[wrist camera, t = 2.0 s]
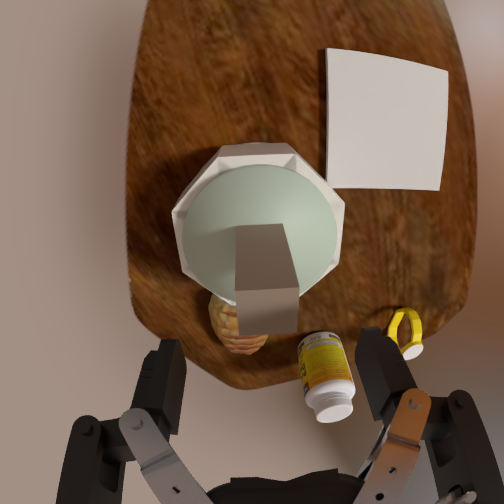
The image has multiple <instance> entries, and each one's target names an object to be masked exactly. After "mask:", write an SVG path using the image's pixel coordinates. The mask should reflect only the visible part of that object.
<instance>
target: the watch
mask: <svg viewBox="0 0 504 504" xmlns="http://www.w3.org/2000/svg"><path fill="white" fill-rule="evenodd" d="M404 313H406V314H407V315H408V317H409V319H410V321H411V328H412V336H411V342H410V343H408V344H407V345H405V346H404V347H403V348H402V350H400V351H401V354H402V355H403V357H404V359H405V360H409V359H412V358H414V357H416V356H418V355H419V354H420V353H421V351H422V350H423V345H422V343H421V337H422V326H421V321H420V318H419V316H418V314H417V312H416V311H414V310H413V309H411V308H401V309H398V310H396V312H395V314H394V316H393V318H392V320H391V322H390V324H389V326H388V331H387V336H389V337H390V338H391V339H393V340H394V341H395V342H396V343H397V345H398V342H397V337H396V336H397V327H398V325H399V323H400V321H401V319H402V317H403V315H404ZM398 347H399V346H398ZM399 349H400V348H399Z"/></svg>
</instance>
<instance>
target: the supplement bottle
mask: <svg viewBox="0 0 504 504" xmlns="http://www.w3.org/2000/svg"><path fill="white" fill-rule="evenodd" d="M297 352H298V359H299V365H300V371H301V377H302V383H303V388H304V395H305V400H306V403H307V405H308V406H309V407H311V408H313V409H314V412H315V415H316V419H317V420H318V421H319V422H323V423H330V422H335V421H339V420H342V419H344V418H346V417H347V416H349V415H350V414H351V413H352V411H353V407H352V403H351V399H352V397H353V396H354V394H355V386H354V382H353V379H352V376H351V372H350V369H349V366H348V362H347V359H346V356H345V353H344V350H343V347H342V343H341V341H340V339H339V337H338V336H337V335H335V334H334V333H331V332H325V331H324V332H316V333H313V334H311V335H309V336H307V337H305V338H304V339H303V340H302V341H301V342H300V344H299V346H298V349H297Z"/></svg>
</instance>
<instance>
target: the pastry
mask: <svg viewBox="0 0 504 504" xmlns="http://www.w3.org/2000/svg"><path fill="white" fill-rule="evenodd" d="M208 311H209V316H210V319H211V325H212V327H213V329H214V332H215V334H216V335H217V336H218V338H219V340H221V341H222V343H223V344H224V346H225V347H226V348H227V349H228V350H229V351H230V352H233V353H240V354H241V353H244V354H247V355H250V354H252V353H254V352H256V351H257V350H258V349H259V348H260V347H261V346H263V345H264V343H265V341H266V339H267V338H268V335H251V336H239V330H238V320H237V311H236V305H235V306H232V305H230V304H229V303H227V302H226V301H224V300H223V299H221V298H220V297H218V296H217V295H215V294H214V293H213V294H212V296H211V300H210V303H209V305H208Z"/></svg>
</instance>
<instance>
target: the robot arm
mask: <svg viewBox="0 0 504 504" xmlns="http://www.w3.org/2000/svg"><path fill="white" fill-rule="evenodd" d="M404 360H405V359H404V357H403V355H402V354H401V351H400V349H399V347H398V345H397V343H396V342H395V341H394V340H393V339H391V338H390V337H389V336H387V337H384V336H383V334H382V332H381V330H380V328H379V327H370V328H363V329H361V332H360V335H359V339H358V343H357V346H356V350H355V362H356V366H357V369H358V372H359V375H360V378H361V381H362V384H363V386H364V390H365V393H366V396H367V399H368V402H369V405H370V409H371V412H372V415H373V419H374V421H377V420H383V423H384V425H383V427H382V429H381V431H380V433H379V435H378V438H377V440H376V442H375V444H374V446H373V448H372V450H371V452H370V454H369V456H368V458H367V460H366V461H365V463H364V464H363V466H362V468H361V469H360V471H359V472H358V474H357V476H356V477H354V476H351V475H348V474H342V473H338V469H337V468H336V469H331V470H325V471H318V472H312V473H309V474H306V475H304V476H300V477H297V478H295V479H292V480H288V481H277V480H271V479H265V478H259V477H244V478H230V480H231V481H230V483H226V484H223V485H220V486H218V487H215V488H213V489H212V490H210V491H208V492H207V493H206V492H205V491H204V489H203V488H202V487H201V486H200V485H199V483H198V482H197V481H196V480H195V478H194V477H193V476H192V474H191V473H190V472H189V471H188V469H187V468H186V467H185V465H184V464H183V463H182V461H181V460H180V458H179V457H178V456H177V454H176V453H175V451H174V450H173V448H172V447H171V446H170V444H169V438H170V434H173V435H177V434H178V427H179V419H180V413H181V405H182V399H183V392H184V386H185V379H186V372H187V367H186V360H185V357H184V354H183V351H182V347H181V344H180V341H179V340H178V339H162V340H161V341H160V345H159V348H158V351H154V350H153V351H152V350H151V351H150V353H149V354H148V355H147V356H146V357H145V358H144V361H143V364H142V368H141V372H140V375H139V379H138V382H137V386H136V389H135V393H134V397H133V400H132V404H131V407H130V409H129V410H127V411H126V412H124V413H123V414H122V416H121V417H120V418H117V419H112V420H105V421H98V420H97V419H96V418H95V417H93V416H90V415H85V416H81V417H79V418H78V419H77V420H76V421H75V422H74V424H73V426H72V430H71V434H70V438H69V441H68V445H67V450H66V454H65V458H64V462H63V467H62V472H61V477H60V482H59V487H58V493H57V499H56V504H121V501H122V491H123V481H124V472H125V465H126V462H128V461H135V460H137V461H138V463H139V465H140V467H141V472H142V475H143V476H144V478H145V479H146V481H147V483H148V484H149V486H150V488H151V489H152V491H153V492H154V494H155V495H156V497H157V498H158V500H159V501H160V503H161V504H398V502H399V500H400V498H401V496H402V494H403V492H404V490H405V487H406V485H407V483H408V481H409V478H410V476H411V474H412V471H413V469H414V466H415V464H416V461H417V458H418V456H419V453H420V449H421V447H420V446H419V442H420V440H425V444H426V447H427V450H428V455H429V458H430V462H431V466H432V470H433V474H434V478H435V483H436V487H437V492H438V496H439V500H438V501H437V502H436V503H435V504H504V485H503V482H502V478H501V475H500V472H499V468H498V465H497V462H496V459H495V456H494V452H493V450H492V447H491V444H490V441H489V438H488V435H487V433H486V430H485V427H484V425H483V422H482V420H481V417H480V415H479V413H478V410H477V408H476V405H475V403H474V401H473V399H472V397H471V395H470V394H469V393H467V392H466V391H463V390H456V391H453V392H452V393H451V394H450V395H449V396H448V397H431V396H429V395H428V394H427V393H426V392H425V391H423V390H421V389H418V387H417V386H416V383H415V381H414V379H413V377H412V374H411V372H410V370H409V368H408V366H407V364H406V362H405V361H404Z"/></svg>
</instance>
